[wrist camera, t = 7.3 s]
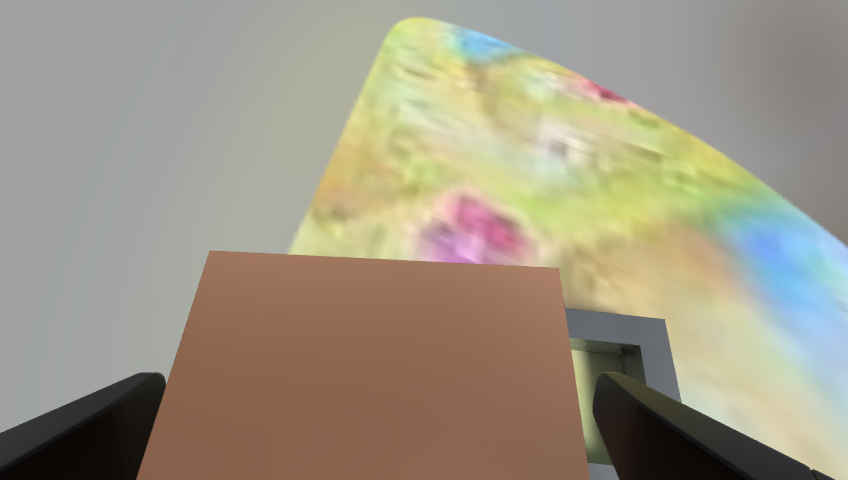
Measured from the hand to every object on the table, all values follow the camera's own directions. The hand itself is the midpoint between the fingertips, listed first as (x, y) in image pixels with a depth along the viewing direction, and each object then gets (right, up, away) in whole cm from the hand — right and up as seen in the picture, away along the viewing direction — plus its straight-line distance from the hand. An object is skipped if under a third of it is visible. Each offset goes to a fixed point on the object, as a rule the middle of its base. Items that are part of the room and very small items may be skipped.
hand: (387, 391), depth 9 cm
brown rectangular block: (0, -5, +6) cm, 8 cm away
